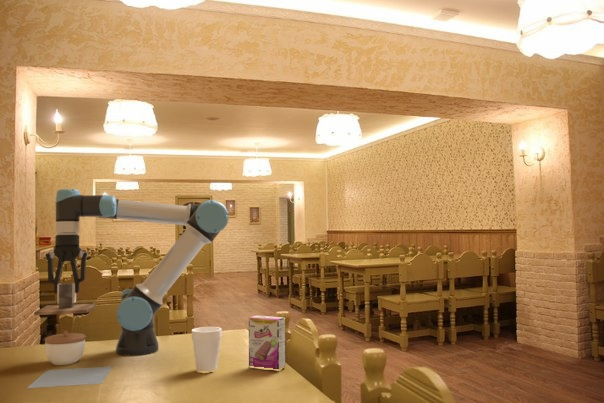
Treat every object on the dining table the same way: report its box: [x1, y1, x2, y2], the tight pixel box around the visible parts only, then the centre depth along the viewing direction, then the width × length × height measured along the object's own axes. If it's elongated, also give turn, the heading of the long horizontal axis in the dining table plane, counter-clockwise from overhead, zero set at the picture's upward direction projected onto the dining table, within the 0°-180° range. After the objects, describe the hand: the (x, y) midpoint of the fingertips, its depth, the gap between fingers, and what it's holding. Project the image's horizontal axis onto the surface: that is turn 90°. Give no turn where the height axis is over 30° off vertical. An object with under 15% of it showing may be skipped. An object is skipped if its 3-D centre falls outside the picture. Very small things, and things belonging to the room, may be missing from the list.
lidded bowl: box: [44, 330, 87, 366], centre depth 177 cm, size 13×13×11 cm
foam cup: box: [191, 326, 223, 372], centre depth 166 cm, size 10×9×13 cm
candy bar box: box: [248, 315, 286, 369], centre depth 168 cm, size 11×5×16 cm, turn 65°
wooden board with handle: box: [33, 282, 97, 316], centre depth 178 cm, size 16×16×9 cm
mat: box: [27, 366, 114, 389], centre depth 159 cm, size 20×20×1 cm
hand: (66, 302), depth 178 cm, fingers closed on wooden board with handle, 4 cm apart
